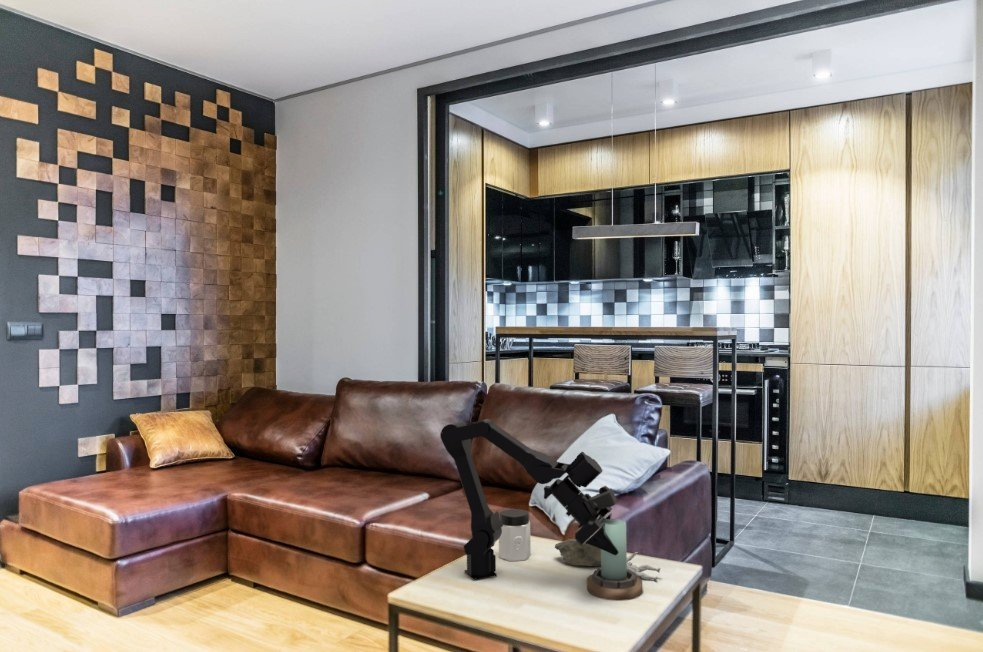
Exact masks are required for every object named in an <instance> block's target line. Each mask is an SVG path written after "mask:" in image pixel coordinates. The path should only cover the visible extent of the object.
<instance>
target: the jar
mask: <svg viewBox="0 0 983 652" xmlns="http://www.w3.org/2000/svg"><path fill="white" fill-rule="evenodd" d="M499 518H500V521H501V523H502V524H503V527H501V528H502V534H501V536H500V538H499V539H498V557H499V559H502V560H505V561H508V562H519V561H527V560H528V559H529V558H530V556H531V552H532V551H531V548H532V547H531V521H530V512H529V511H528V510H524V509H519V508H515V509H514V508H512V509H511V508H510V509H504V510H501V511H500V512H499Z"/></svg>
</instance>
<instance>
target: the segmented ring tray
mask: <svg viewBox="0 0 983 652" xmlns="http://www.w3.org/2000/svg"><path fill="white" fill-rule="evenodd" d="M586 590H587V592H588V593H589V594H590V595H592V596H594V597H597V598H599V599H602V600H603V599H604V600H609V601H628V600H634V599H636V598H638V597H640V596H641V595H642V594H643V592H642V591H643V581H642V578H638V577H637V575H636V573H634V572H632V571H630V570H628V569H627V579H626V580H623V581H611V580H604V579H602V578H601V568H597V569H595V570H594V571H593V572H592V574H590V575H589V576H588V577H587V578H586Z"/></svg>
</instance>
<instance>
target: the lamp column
mask: <svg viewBox="0 0 983 652" xmlns="http://www.w3.org/2000/svg"><path fill="white" fill-rule="evenodd" d="M604 523H605V533H606V534H607V536H608V537H609V539H610V540H611V541H612V543H613V544H614V546H615V547H616V549H617V550H618V552H619V553H618V554H617V555H613V554H611V553H609V552H606V551H604V550H602V549H601V565H600V569H601V578H602V579H604V580H611V581H623V580H626V579H627V558H628V557H627V555H628V553H627V522H626V521H624V520H623V519H617V518H611V519H605V520H602V521H601V526H602V525H603V524H604Z"/></svg>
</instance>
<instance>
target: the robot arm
mask: <svg viewBox="0 0 983 652" xmlns="http://www.w3.org/2000/svg"><path fill="white" fill-rule="evenodd" d="M439 434H440V435H439V436H440V440H441V443H442V444H443V446H444V448H445V450H446V453H448V454H449V456H450V457H451V458H452V459H453V461H454V464H455V467H456V469H457V472H458V473H457V474H458V476H459V479H460V480H459V481H460V482H461V485H462V488H463V491H464V495H465V499H466V501H467V504H468V507H469V511H470V531H471V538H470V539H469V540H468V541H467V542H466V543H465V544H464V545H463V550H464V554H465V555H466V569H465V570H464V574H466V575H467V576H468V577H469V578H470V579H471V580H473V581H477V580H481V579H482V580H483V579H488V578H494V577H497V575H498V574H497V573H496V566H497V563H496V560H497V559H496V556H497V555H495V554H494V552H495V551H494V549H493V547H494V546H495V544H496V542H497V541H499V538H500V536H501V534H502V528H501V527H503V524H502V523H501V521H500V512H499V511H497V510H496V511H495V512H493V510H491V509H490V507H489V505H488V503H487V499H486V495H485V493H484V489H483V486H482V483H481V480H480V478H479V474H478V470H477V467H476V465H475V462H474V459H473V456H472V444H473V443H472V439H476V438H479V437H483V438H484V439H485V440H487V441H488V442H489V443H491V444H492V445H494V446H496V447H497V448H498V449H500V450H501V451H503V452H504V453H505V454H507V455H508V456H509V457H511V458H512V459H514V460H515V461H517V462H518V463H519V464H520V465H521V467H523V469H524V471H525V472H526V473H527V474H528V475H529V477H530V478H532V480H534V481H535V482H536V483H537V484H540V485H545V486H544V487H543V492H544V493H543V499H544V500H547V499H548V498H549V497H550V496H551V495H552V496H553V497H554V498H555V499H556V500H557V502H559V504H560V505H561V506H562V508H564V509H565V510H566V512H565V514H566V515H567V516H568V517H570V516H572V518H573V519H574V520H575V521H576V522H577V524H578V525H577V527H578V529H577V530H576V531H575V535H574V537H575V538H574V539H576V540H577V542H578V543H579V544H580V545H582V544H583V543H584V542H585V541H586V542H585V543H586V544H590V545H592V546H595V547H597V548H600V549H602V550H604V551H606V552H609V553H611V554H613V555H617V554H618V553H619V552H618V550H617V549H616V547H615V546H614V544H613V543H612V541H611V540H610V539H609V537H608V536H607V534H606V533H605V523H604V524H603V525H602V526H601V521H602V520H605V519H612V516H613V514H612V512H611V511H612V510H613V507H614V506H615V505H616V503H618V499H617V497H616V496H615V494H616V492H615V491H614V490H613V489H612V488H608V486H607V485H603V486H601V487H600V488H599V489H598V493H597V494H596V495H593V496H591V495H590V494H589V493H583V491H581V490H580V488H581V487H582V488H587V487H588V486H589V485H590V484H591V483H592V482H593V481H594V480H595V479H597V477H598V476H600V475H601V474H602V473H603V468H602V466H600V464H599V463H598V462H597V461H596V460H595V459H594V458H592V457H591V456H590V455H588V454H586V453H585V452H584V451H580V453H578V454H577V456H576V458H575V459H574V460H573V461H571V463H565V462H560V461H557V460H556V459H555V458H554V457H552V456H549V455H547V454H545V453H543V452H541V451H537V450H535V449H532V448H530V447H529V446H527V445H526V444H524V443H523V442H521V441H520V440H519V439H517V438H515V437H514V436H513V435H511V434H510V433H508V432H507V431H506V430H505V429H503V428H501V427H500V426H498V424H496V423H495V422H494V421H493V420H492V419H489V418H486V419H482V420H481V421H474V422H468V423H465V422H463V421H460V420H459V421H455V422H452V423H449V424H447V425H444V426H443V427H442V429H441V431H440V433H439ZM565 474H567V475H566V476H565V477H564V478H563V479H561V478H562V477H563V476H564V475H565ZM553 480H554V482H553V483H552V484H550V485H547V484H549V483H551V482H552V481H553ZM608 513H609V514H608Z"/></svg>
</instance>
